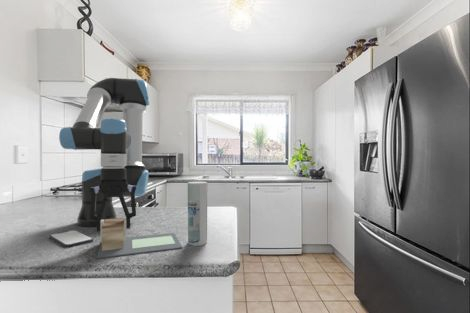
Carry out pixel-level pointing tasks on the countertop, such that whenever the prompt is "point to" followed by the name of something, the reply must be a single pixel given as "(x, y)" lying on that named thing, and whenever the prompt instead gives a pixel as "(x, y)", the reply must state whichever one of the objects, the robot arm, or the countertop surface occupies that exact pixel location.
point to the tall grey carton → (197, 213)
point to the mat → (143, 245)
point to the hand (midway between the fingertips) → (113, 239)
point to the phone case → (70, 238)
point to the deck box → (113, 234)
